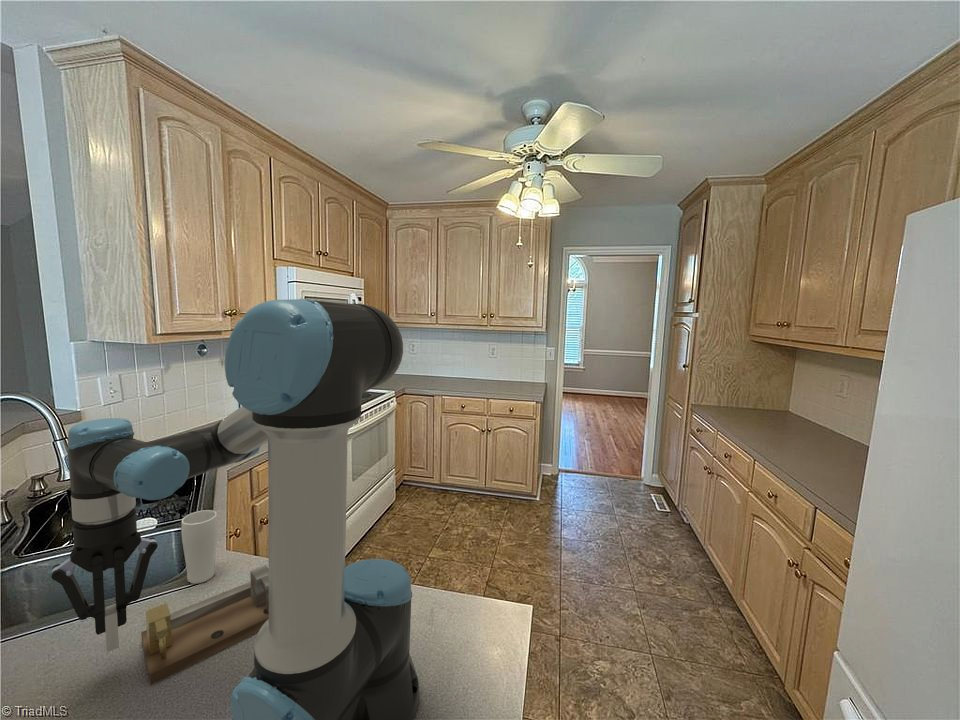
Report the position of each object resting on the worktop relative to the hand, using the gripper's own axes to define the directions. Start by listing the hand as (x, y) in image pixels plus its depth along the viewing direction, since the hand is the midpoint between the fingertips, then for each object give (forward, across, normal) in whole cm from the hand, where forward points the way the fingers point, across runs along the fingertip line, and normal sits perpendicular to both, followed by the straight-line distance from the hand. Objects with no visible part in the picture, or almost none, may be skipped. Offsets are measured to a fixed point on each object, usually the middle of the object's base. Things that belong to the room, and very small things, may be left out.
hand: (112, 645), depth 67 cm
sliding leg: (+3, -6, +2) cm, 7 cm away
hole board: (+5, -16, +1) cm, 17 cm away
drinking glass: (+6, -16, -19) cm, 26 cm away
